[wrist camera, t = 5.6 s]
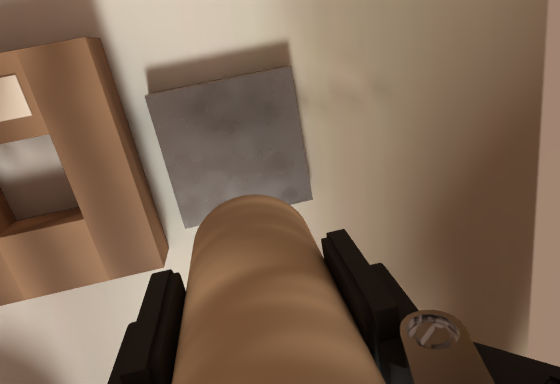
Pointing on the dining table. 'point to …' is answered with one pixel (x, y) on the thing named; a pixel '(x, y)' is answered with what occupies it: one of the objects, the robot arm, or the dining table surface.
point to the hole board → (75, 175)
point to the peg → (265, 304)
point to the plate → (231, 141)
